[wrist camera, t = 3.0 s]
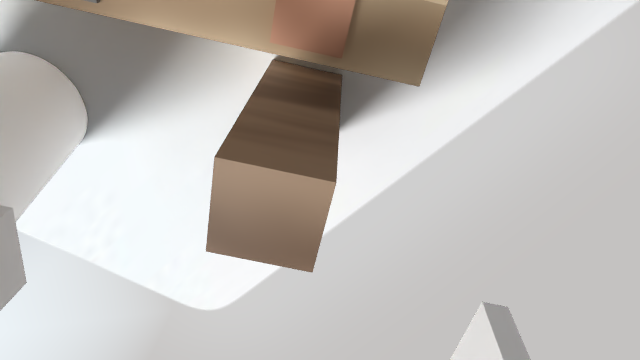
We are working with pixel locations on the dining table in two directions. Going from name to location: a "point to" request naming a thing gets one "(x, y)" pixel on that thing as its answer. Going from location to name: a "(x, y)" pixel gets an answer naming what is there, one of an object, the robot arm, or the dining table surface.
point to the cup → (35, 126)
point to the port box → (300, 28)
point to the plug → (278, 169)
